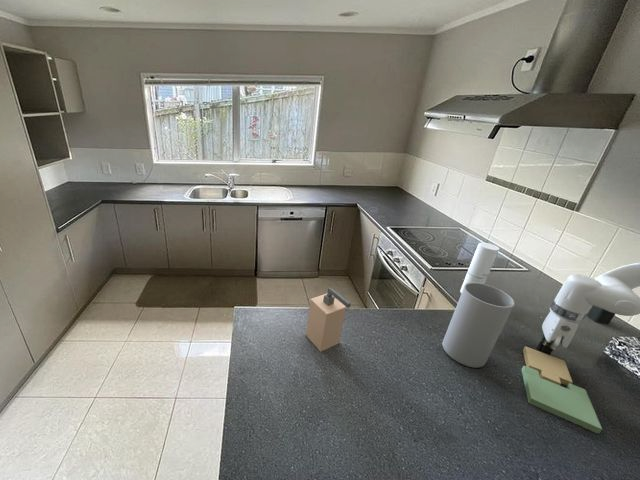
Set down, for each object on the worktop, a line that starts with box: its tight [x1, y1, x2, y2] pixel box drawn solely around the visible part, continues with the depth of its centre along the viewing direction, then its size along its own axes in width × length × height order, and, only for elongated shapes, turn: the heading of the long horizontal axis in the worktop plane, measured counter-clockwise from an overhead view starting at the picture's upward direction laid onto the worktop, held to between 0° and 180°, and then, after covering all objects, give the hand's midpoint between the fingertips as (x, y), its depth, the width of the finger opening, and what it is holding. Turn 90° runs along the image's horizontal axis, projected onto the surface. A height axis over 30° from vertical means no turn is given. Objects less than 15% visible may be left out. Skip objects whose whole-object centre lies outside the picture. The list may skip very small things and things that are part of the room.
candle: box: [586, 305, 616, 325], centre depth 111 cm, size 5×5×25 cm
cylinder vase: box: [442, 283, 516, 368], centre depth 92 cm, size 12×12×25 cm
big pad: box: [521, 365, 603, 435], centre depth 82 cm, size 14×14×2 cm
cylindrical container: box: [459, 241, 500, 295], centre depth 124 cm, size 7×7×25 cm
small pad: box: [522, 345, 573, 387], centre depth 91 cm, size 10×13×2 cm
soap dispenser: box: [305, 287, 352, 353], centre depth 94 cm, size 13×9×22 cm
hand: (542, 352), depth 97 cm, fingers closed
